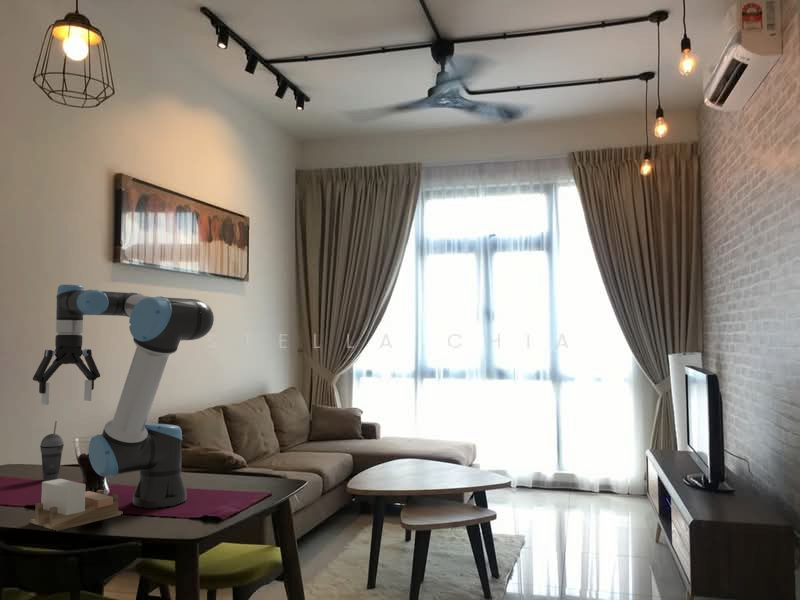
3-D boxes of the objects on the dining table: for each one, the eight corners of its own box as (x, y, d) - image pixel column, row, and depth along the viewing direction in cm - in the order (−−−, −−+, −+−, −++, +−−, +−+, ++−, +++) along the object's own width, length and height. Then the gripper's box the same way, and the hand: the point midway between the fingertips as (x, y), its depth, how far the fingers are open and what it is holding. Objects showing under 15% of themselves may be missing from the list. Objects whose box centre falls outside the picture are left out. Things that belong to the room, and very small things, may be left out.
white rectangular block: (84, 510, 171) (85, 484, 171) (66, 515, 167) (67, 487, 167) (59, 504, 177) (60, 478, 178) (41, 508, 173) (41, 482, 173)
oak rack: (122, 514, 179) (123, 495, 180) (57, 531, 164) (57, 509, 164) (95, 507, 187) (96, 488, 187) (30, 522, 171) (31, 502, 171)
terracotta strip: (113, 504, 178) (113, 496, 178) (98, 507, 174) (98, 500, 174) (88, 498, 184) (88, 490, 184) (73, 501, 180) (73, 494, 181)
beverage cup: (48, 477, 225) (50, 419, 226) (67, 477, 224) (69, 419, 225) (33, 481, 218) (35, 422, 219) (53, 482, 217) (55, 422, 218)
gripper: (99, 334, 214) (97, 398, 213) (21, 333, 193) (19, 405, 192) (112, 334, 210) (110, 399, 209) (34, 334, 189) (32, 406, 188)
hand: (66, 402), depth 201 cm, fingers open, 13 cm apart
